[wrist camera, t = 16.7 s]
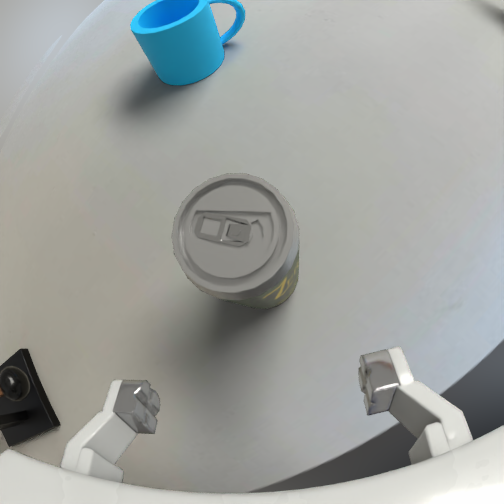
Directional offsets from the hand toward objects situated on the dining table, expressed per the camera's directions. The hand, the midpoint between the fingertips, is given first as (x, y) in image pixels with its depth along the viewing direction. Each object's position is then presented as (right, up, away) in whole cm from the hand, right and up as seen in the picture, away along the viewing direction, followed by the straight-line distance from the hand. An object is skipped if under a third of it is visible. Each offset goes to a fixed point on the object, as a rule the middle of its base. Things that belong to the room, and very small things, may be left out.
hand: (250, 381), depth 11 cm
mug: (-5, +28, +20) cm, 34 cm away
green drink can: (+1, +3, +13) cm, 14 cm away
